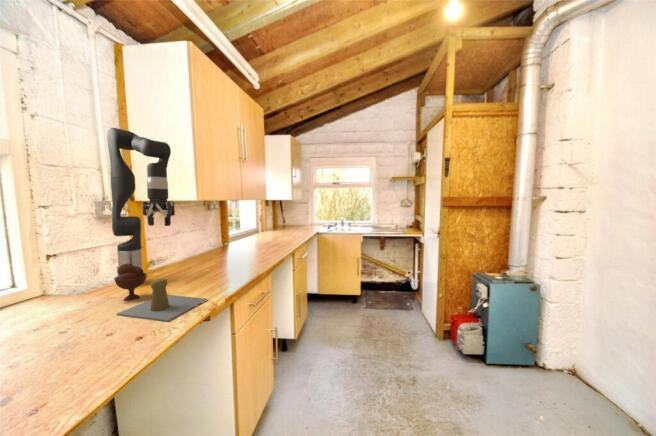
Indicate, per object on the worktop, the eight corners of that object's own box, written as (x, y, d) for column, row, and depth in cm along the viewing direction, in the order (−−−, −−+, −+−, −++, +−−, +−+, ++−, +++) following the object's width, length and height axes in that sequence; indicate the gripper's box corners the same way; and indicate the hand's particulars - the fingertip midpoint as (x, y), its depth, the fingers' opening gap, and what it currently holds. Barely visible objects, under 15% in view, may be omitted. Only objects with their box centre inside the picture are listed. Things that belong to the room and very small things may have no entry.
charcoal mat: (116, 315, 94) (116, 313, 94) (163, 295, 113) (163, 294, 113) (168, 321, 89) (168, 320, 89) (207, 300, 108) (207, 298, 108)
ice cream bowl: (131, 304, 103) (129, 267, 102) (108, 302, 105) (106, 265, 104) (153, 295, 114) (152, 261, 113) (132, 293, 116) (131, 259, 115)
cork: (167, 303, 103) (166, 276, 102) (171, 308, 98) (170, 279, 98) (148, 307, 99) (147, 279, 98) (152, 312, 94) (150, 282, 93)
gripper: (178, 188, 115) (179, 225, 116) (151, 188, 118) (153, 224, 119) (164, 187, 107) (165, 226, 108) (136, 187, 111) (137, 226, 112)
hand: (159, 225), depth 114 cm, fingers open, 8 cm apart
